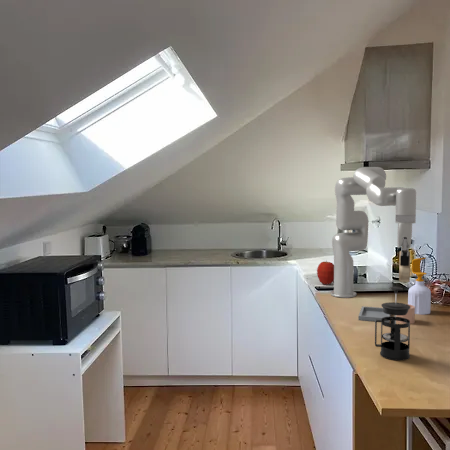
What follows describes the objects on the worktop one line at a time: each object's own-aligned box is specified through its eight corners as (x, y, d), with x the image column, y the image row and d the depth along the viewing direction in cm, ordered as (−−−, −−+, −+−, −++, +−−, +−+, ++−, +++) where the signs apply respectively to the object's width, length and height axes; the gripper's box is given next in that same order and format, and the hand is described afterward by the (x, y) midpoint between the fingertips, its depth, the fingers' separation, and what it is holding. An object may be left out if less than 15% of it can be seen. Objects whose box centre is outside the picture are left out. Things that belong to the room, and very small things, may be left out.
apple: (316, 285, 267) (316, 260, 266) (318, 282, 277) (318, 257, 276) (335, 286, 264) (335, 261, 263) (336, 282, 274) (336, 258, 273)
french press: (409, 351, 165) (410, 284, 163) (414, 361, 156) (416, 291, 154) (373, 349, 167) (374, 283, 165) (376, 359, 158) (377, 290, 156)
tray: (361, 311, 214) (361, 306, 214) (390, 314, 210) (390, 308, 210) (358, 322, 199) (358, 316, 199) (389, 324, 195) (389, 318, 195)
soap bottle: (416, 317, 205) (418, 259, 203) (403, 311, 214) (404, 256, 211) (435, 315, 207) (436, 258, 205) (421, 309, 216) (422, 255, 214)
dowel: (399, 279, 198) (399, 250, 197) (409, 280, 197) (410, 251, 195) (398, 281, 194) (399, 252, 193) (409, 282, 193) (410, 252, 192)
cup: (396, 320, 201) (396, 303, 200) (414, 321, 199) (414, 304, 198) (396, 324, 195) (396, 307, 194) (414, 326, 192) (414, 309, 191)
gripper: (395, 217, 202) (395, 260, 204) (395, 220, 187) (394, 268, 188) (415, 217, 199) (414, 261, 201) (416, 221, 184) (414, 268, 186)
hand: (404, 264), depth 195 cm, fingers closed on dowel, 4 cm apart
